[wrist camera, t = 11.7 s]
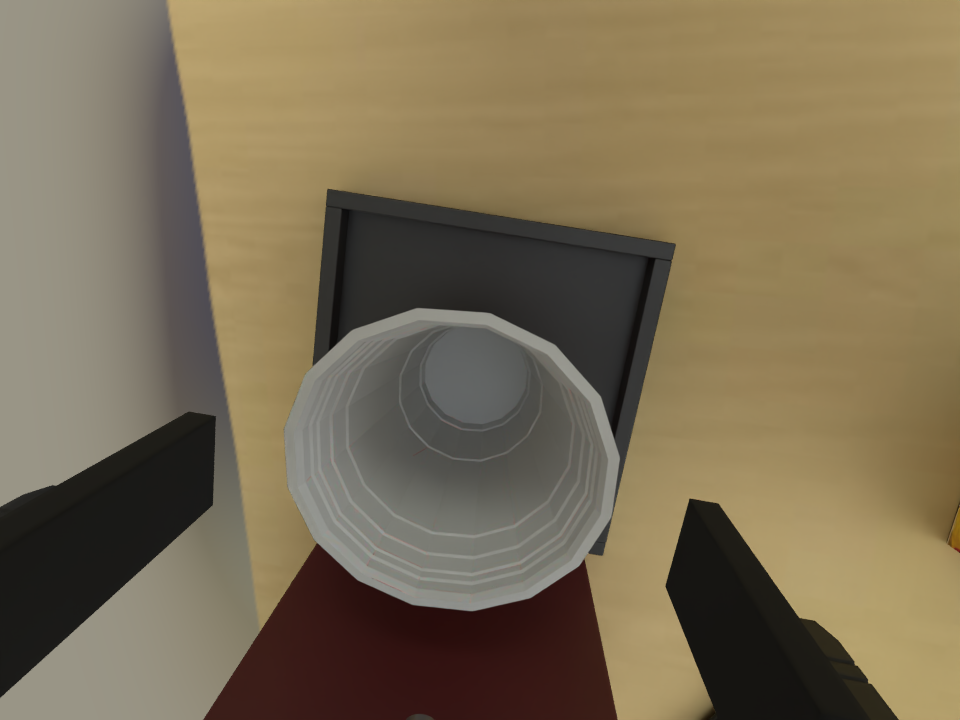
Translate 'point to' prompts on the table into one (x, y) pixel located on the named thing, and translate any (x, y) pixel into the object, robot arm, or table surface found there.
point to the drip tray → (500, 287)
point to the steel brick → (419, 717)
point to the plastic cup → (451, 459)
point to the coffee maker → (420, 656)
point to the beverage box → (955, 533)
